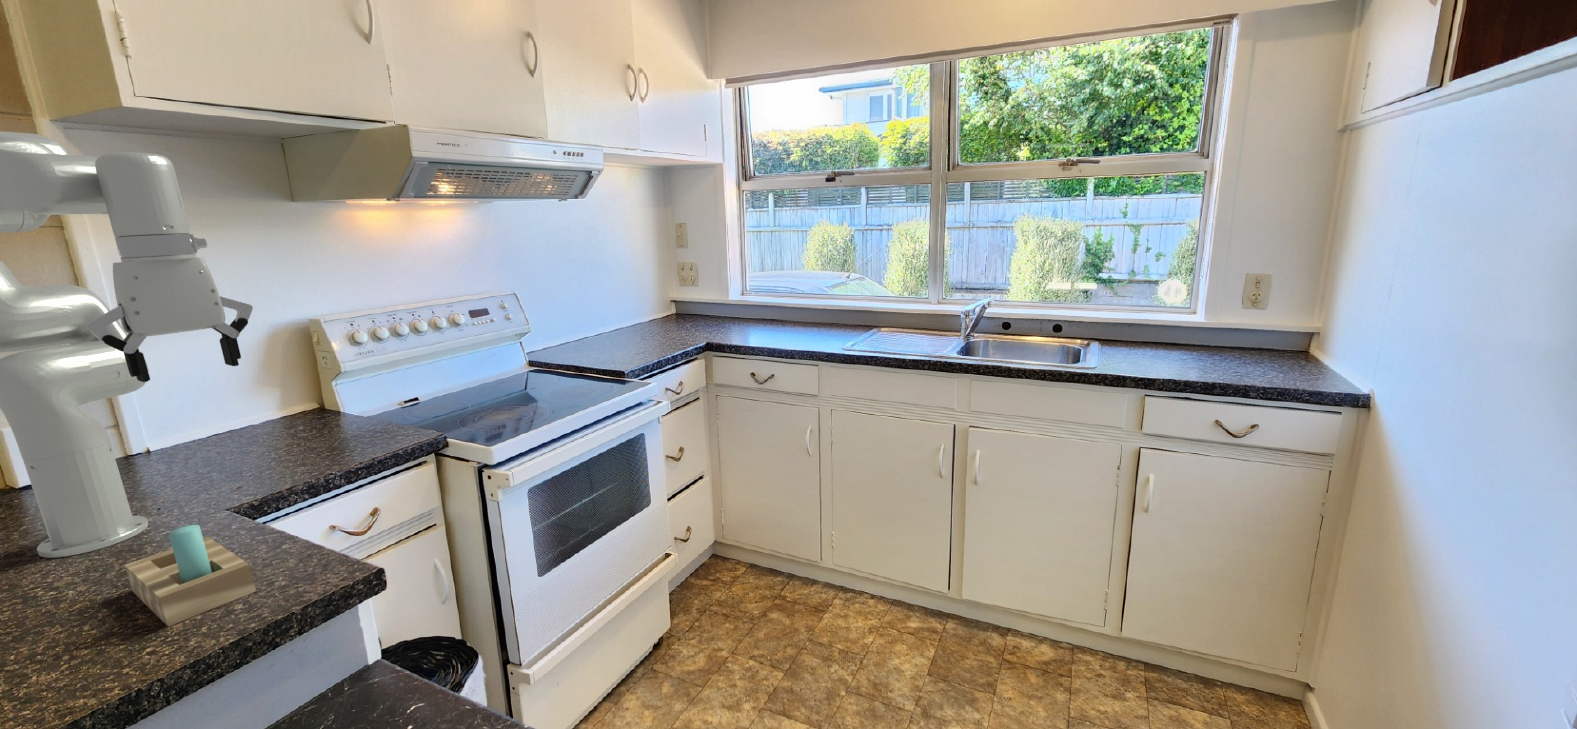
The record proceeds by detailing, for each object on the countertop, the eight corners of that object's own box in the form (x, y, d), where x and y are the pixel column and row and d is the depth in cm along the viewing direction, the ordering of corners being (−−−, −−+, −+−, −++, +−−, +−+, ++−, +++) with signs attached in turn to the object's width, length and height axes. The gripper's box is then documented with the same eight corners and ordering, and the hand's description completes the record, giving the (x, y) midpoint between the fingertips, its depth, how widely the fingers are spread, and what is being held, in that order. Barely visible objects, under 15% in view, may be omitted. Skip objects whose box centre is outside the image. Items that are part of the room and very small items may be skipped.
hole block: (132, 591, 90) (124, 565, 89) (215, 561, 97) (208, 536, 96) (168, 626, 81) (159, 597, 80) (256, 591, 88) (249, 564, 88)
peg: (184, 602, 87) (165, 532, 84) (213, 591, 89) (195, 523, 87) (192, 608, 85) (172, 537, 83) (221, 597, 87) (203, 528, 85)
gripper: (227, 245, 98) (254, 358, 102) (58, 254, 84) (97, 384, 88) (246, 244, 94) (273, 361, 97) (71, 254, 80) (111, 390, 83)
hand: (189, 372), depth 92 cm, fingers open, 9 cm apart
